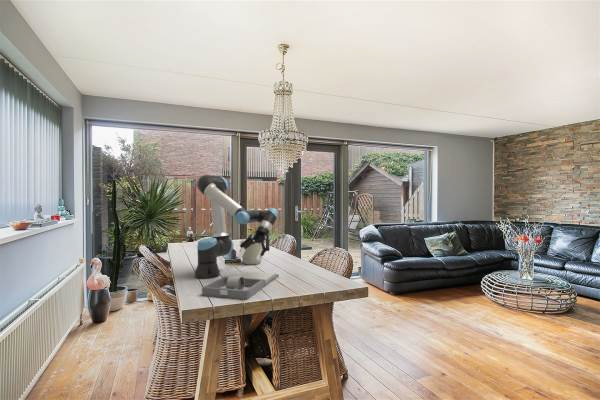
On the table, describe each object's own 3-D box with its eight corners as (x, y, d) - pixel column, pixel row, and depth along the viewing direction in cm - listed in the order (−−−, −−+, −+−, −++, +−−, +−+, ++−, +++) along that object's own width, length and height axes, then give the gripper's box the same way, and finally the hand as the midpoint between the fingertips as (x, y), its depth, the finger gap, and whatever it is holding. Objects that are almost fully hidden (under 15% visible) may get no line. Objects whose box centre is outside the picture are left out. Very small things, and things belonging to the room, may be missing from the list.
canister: (239, 261, 250) (238, 234, 250) (262, 260, 255) (262, 233, 254) (240, 266, 233) (240, 237, 232) (265, 265, 237) (265, 236, 237)
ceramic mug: (232, 287, 179) (232, 274, 179) (245, 289, 177) (245, 275, 176) (221, 293, 170) (221, 279, 169) (235, 295, 167) (234, 280, 166)
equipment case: (201, 295, 165) (201, 287, 165) (242, 274, 211) (242, 267, 211) (246, 299, 159) (246, 291, 159) (278, 276, 204) (278, 270, 204)
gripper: (283, 234, 192) (269, 265, 179) (250, 232, 204) (234, 260, 191) (278, 226, 187) (263, 257, 174) (244, 225, 200) (228, 253, 187)
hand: (248, 259), depth 183 cm, fingers open, 13 cm apart
